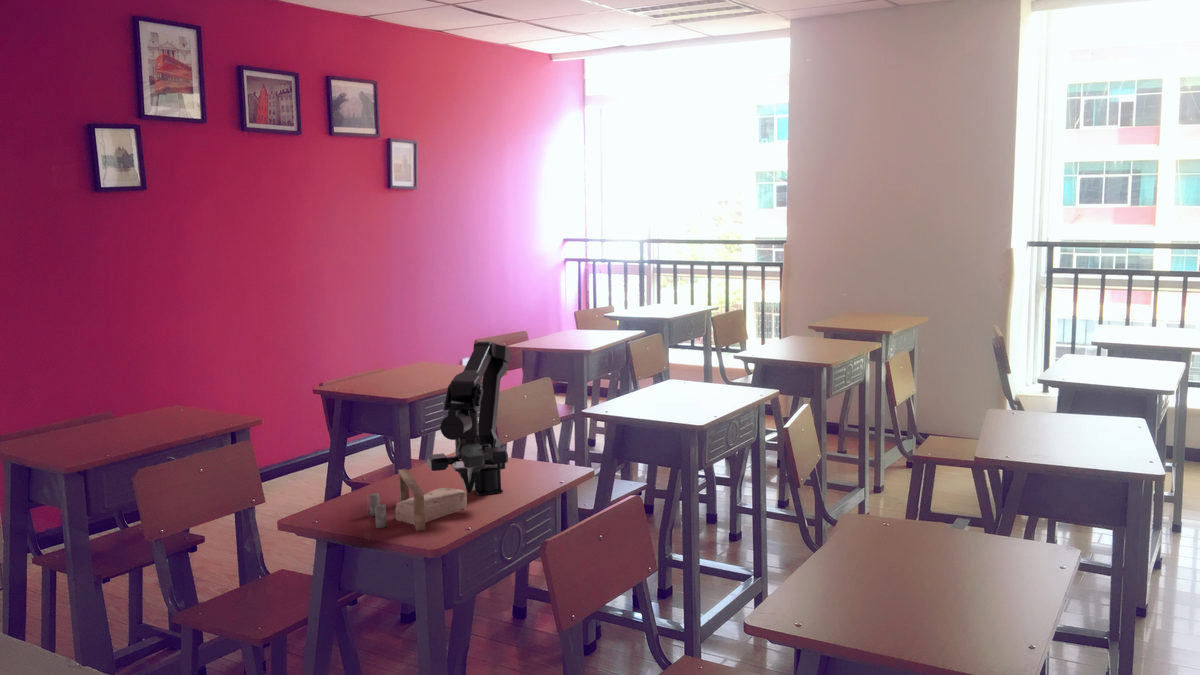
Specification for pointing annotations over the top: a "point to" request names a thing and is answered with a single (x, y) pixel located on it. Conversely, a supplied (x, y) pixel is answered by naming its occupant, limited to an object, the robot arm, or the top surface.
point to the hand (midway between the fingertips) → (469, 493)
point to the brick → (433, 505)
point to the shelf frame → (404, 485)
